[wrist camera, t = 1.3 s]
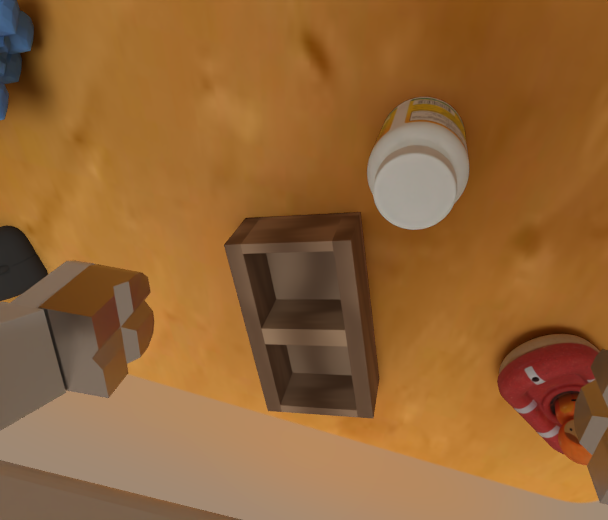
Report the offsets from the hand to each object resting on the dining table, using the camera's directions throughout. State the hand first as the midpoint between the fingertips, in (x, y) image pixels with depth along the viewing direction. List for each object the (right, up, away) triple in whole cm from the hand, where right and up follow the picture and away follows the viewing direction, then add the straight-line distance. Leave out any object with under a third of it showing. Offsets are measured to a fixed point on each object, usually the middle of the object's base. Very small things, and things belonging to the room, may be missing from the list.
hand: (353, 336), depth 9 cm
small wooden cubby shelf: (0, -2, +31) cm, 31 cm away
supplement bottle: (+7, +9, +23) cm, 25 cm away
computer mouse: (-31, +1, +38) cm, 49 cm away
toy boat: (+20, -8, +29) cm, 36 cm away
